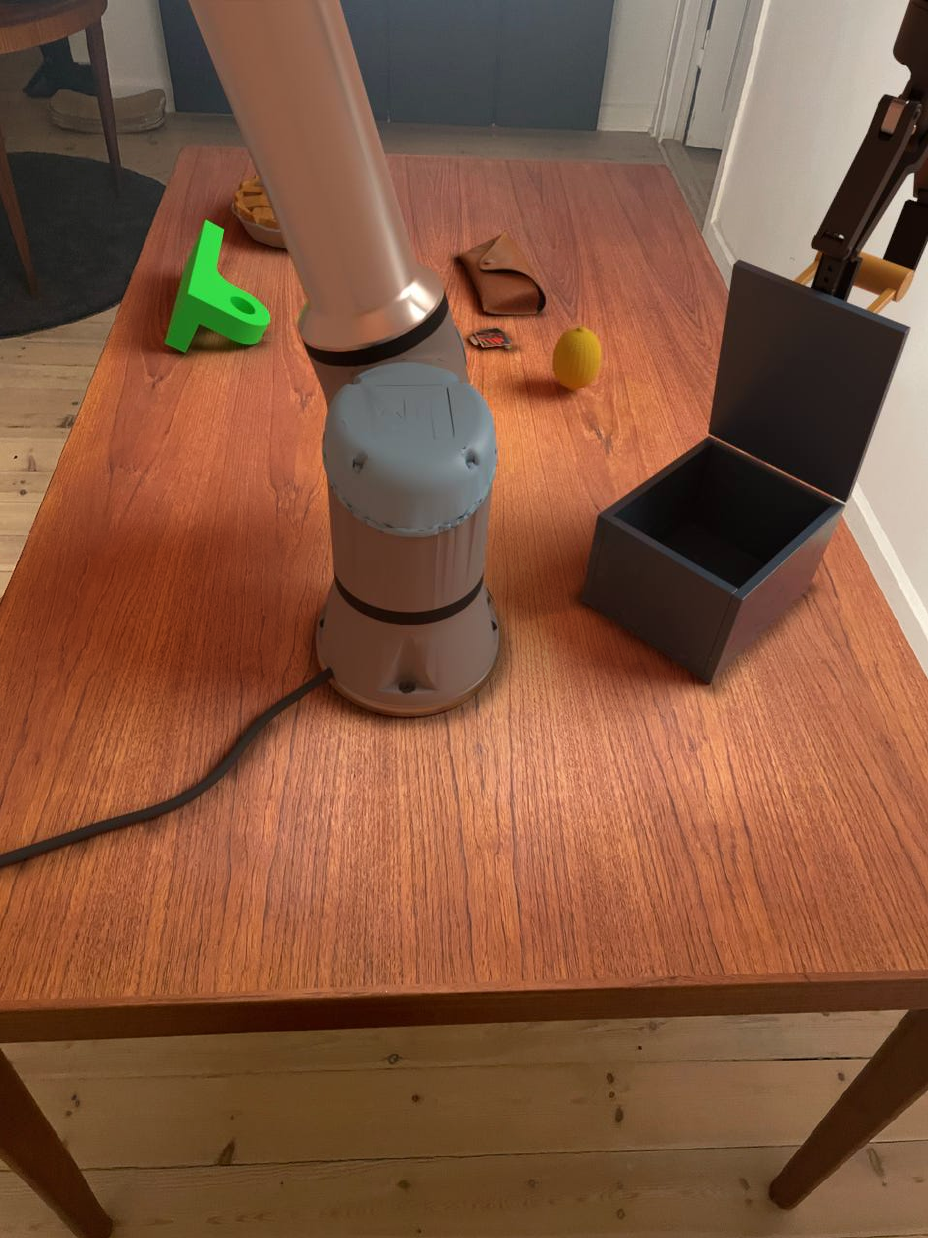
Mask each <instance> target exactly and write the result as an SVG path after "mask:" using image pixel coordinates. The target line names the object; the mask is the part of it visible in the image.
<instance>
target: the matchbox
mask: <svg viewBox="0 0 928 1238" xmlns="http://www.w3.org/2000/svg"><path fill="white" fill-rule="evenodd" d="M468 339H469V342H471V343H472V344H473V345H474V346H478V345H479V344H481V347H482V348H489V347H496V346H497V347H502V346H505V347H504V349H506V350H507V349H508V350H509V349H513V348H514V346H513V345H512V341H511V340H510V338H509V337H508V336H507V335H506V332H505V331H503V330H501V329H500V328H499V327H492V328H491V327H490V328H484V329H483V328H482V329H481V330H477V331H475V332H474V335H472V336H469V338H468ZM511 345H512V346H511Z"/></svg>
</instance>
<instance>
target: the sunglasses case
mask: <svg viewBox="0 0 928 1238" xmlns="http://www.w3.org/2000/svg"><path fill="white" fill-rule="evenodd" d="M456 257H457V259H458V260H459V261H460V263H461V264H462V265H463V266H464V268H465V270H466V272H467V274H468V275H469V277H470V280H471V281H472V284H473V286H474V287H475V288H474V289H475V290H476V292H477V295H478V298H479V300H480V304H481V307H482V308H481V309H482V310H483V312H484V313H487V314H490V315H498V316H509V317H510V316H511V317H512V316H533V315H534V316H536V315H538V314H539V313H541V312H542V311H543V310H544V309H545V308H546V307H547V296H546V293H545V291H544V289H543V288H542V286H541V283H540V282H539V280H538V277H537V276H536V274H535V272H534V270H533V269H532V267H531V265H530V263H529V262H528V261H527V259H526V257H525V256H524V254H523V252H522V250H521V249H520V248H519V246H518V244H517V243H516V242H515V240H514V239H513V237H512V236H511V234H510V232H509V231H508V229H503V232H502V233H501V234H499V235H496V236H495V237H493V238H492V239H489V240H487V241H485V242H483V243H481V244H478V245H477V246H475V247H472V248H471V249H469V250H467V251H465V252H462V253H461V254H459V253H458V255H456Z"/></svg>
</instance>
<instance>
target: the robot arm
mask: <svg viewBox="0 0 928 1238" xmlns="http://www.w3.org/2000/svg"><path fill="white" fill-rule="evenodd" d="M188 3H189V6H190V8H191V11H192V13H193V16H194V18H195V21H196V23H197V26H198V28H199V31H200V33H201V36H202V39H203V41H204V44H205V46H206V48H207V52H208V54H209V56H210V59H211V62H212V64H213V66H214V69H215V71H216V74H217V77H218V78H219V81H220V85H221V87H222V89H223V91H224V94H225V96H226V99H227V101H228V104H229V106H230V109H231V112H232V115H233V117H234V118H235V122H236V125H237V127H238V130H239V131H240V134H241V137H242V139H243V141H244V145H245V147H246V149H247V152H248V154H249V157H250V159H251V162H252V164H253V167H254V168H255V172H256V175H258V177H259V180H260V182H261V185H262V187H263V190H264V192H265V195H266V197H267V200H268V202H269V205H270V207H271V210H272V212H273V215H274V217H275V220H276V222H277V225H278V227H279V230H280V232H281V235H282V238H283V240H284V243H285V245H286V248H287V249H286V248H285V249H286V250H287V252H288V255H289V258H290V260H291V263H292V265H293V268H294V269H295V272H296V275H297V277H298V281H299V283H300V286H301V287H302V290H303V293H304V295H305V298H306V301H305V303H304V305H303V307H302V309H301V311H300V313H299V316H298V317H297V324H296V326H297V331H298V334H299V336H300V339H301V341H302V343H303V346H304V349H305V351H306V354H307V356H308V358H309V361H310V364H311V365H312V368H313V371H314V373H315V375H316V377H317V380H318V382H319V385H320V388H321V390H322V394H323V396H324V400H325V404H326V414H325V415H326V416H325V422H324V431H323V433H322V439H321V455H322V464H323V469H324V472H325V474H326V480H327V481H326V484H327V496H328V497H327V500H328V511H329V512H328V514H329V525H330V539H331V540H330V542H331V554H332V568H333V579H332V581H331V584H330V587H329V589H328V593H327V595H326V598H325V603H324V604H323V606H322V608H321V611H320V613H319V615H318V616H319V617H318V621H317V623H316V624H317V625H316V632H315V635H316V636H315V644H316V645H315V646H316V656H317V660H318V664H319V667H320V670H321V672H319V673H318V674H316V675H314V676H313V677H312V678H311V679H309V680H308V681H306V682H305V683H303V684H302V685H300V686H299V687H297V688H296V689H294V690H293V691H291V692H290V693H288V694H287V695H286V696H284V697H282V698H281V699H279V700H278V701H276V702H275V703H274V704H273V705H271V706H270V707H268V709H266V710H264V712H263V713H262V714H261V715H260V716H258V717H257V718H256V720H254V722H252V723H251V725H249V727H248V728H247V729H246V730H245V731H244V733H243V734H242V735H241V736H240V738H239V739H238V740H237V742H236V743H235V744H234V746H233V747H232V748H231V750H230V751H229V752H228V754H227V755H226V756H225V757H223V759H222V760H221V762H220V763H219V764H218V765H217V766H216V768H214V769H213V770H212V771H211V772H210V773H209V774H208V775H206V776H205V777H204V778H203V779H201V780H200V781H198V783H195V784H194V785H193V786H192V787H190V788H188V789H185V791H183V792H181V793H180V794H179V793H178V794H177V795H176V796H173V797H171V798H169V799H167V800H165V801H162V802H159V803H157V804H154V805H151V806H149V807H145V808H142V809H139V810H136V811H132V812H128V813H125V814H121V815H117V816H114V817H111V818H106V819H103V820H100V821H97V822H94V823H91V824H88V825H84V826H82V827H79V828H76V829H72V830H70V831H67V832H64V833H61V834H59V835H56V836H53V837H49V838H47V839H44V840H41V841H38V842H35V843H32V844H29V845H25V846H22V847H20V848H16V849H13V850H11V851H8V852H7V851H6V852H4V853H0V868H3V867H6V866H9V865H12V864H15V863H18V862H21V861H24V860H27V859H30V858H33V857H36V856H39V855H42V854H45V853H48V852H50V851H54V850H57V849H59V848H62V847H66V846H69V845H72V844H75V843H77V842H80V841H83V840H85V839H88V838H91V837H94V836H97V835H101V834H104V833H107V832H110V831H114V830H117V829H120V828H124V827H128V826H131V825H135V824H138V823H142V822H146V821H148V820H151V819H154V818H157V817H160V816H162V815H166V814H167V813H170V812H172V811H175V810H176V809H178V808H181V807H182V806H185V805H186V804H188V803H190V802H191V801H193V800H195V799H197V798H198V797H200V796H202V794H204V793H205V792H207V791H208V790H209V789H211V788H212V787H213V786H214V785H216V784H217V783H218V782H219V781H220V780H221V779H223V777H224V776H225V775H226V774H227V773H228V772H229V771H230V769H232V768H233V766H235V763H236V762H237V761H238V760H239V759H240V756H242V754H243V753H244V752H245V750H247V748H248V746H249V745H250V744H251V742H252V741H253V740H254V738H256V737H257V735H258V734H259V733H260V732H261V731H262V730H263V729H264V728H265V727H266V725H268V724H269V723H270V722H271V721H272V720H273V719H274V718H276V717H277V716H278V715H279V714H281V713H282V712H283V711H284V710H286V709H288V708H289V707H290V706H292V705H293V704H295V703H296V702H298V701H299V700H301V699H302V698H304V697H306V696H307V695H308V694H310V693H311V692H312V691H314V690H316V689H317V688H318V687H320V686H322V685H323V684H325V683H326V682H328V683H329V684H330V686H331V687H332V688H333V689H334V690H335V691H336V692H337V693H338V694H339V695H341V696H342V697H343V698H345V699H346V700H347V701H349V702H350V703H352V704H353V705H356V706H358V707H360V708H362V709H365V710H368V711H371V712H373V713H378V714H381V715H385V716H393V717H405V718H406V717H422V716H429V715H435V714H438V713H442V712H446V711H448V710H451V709H453V708H457V707H458V706H460V705H462V704H464V703H465V702H467V701H469V700H470V699H471V698H473V697H474V696H476V695H477V694H478V693H479V692H480V691H481V690H482V689H483V688H484V687H485V686H486V684H487V683H488V682H489V680H490V679H491V677H492V676H493V673H494V672H495V669H496V667H497V664H498V660H499V652H500V644H501V643H500V642H501V637H500V626H499V621H498V618H497V614H496V613H495V612H496V611H495V609H494V607H493V604H494V606H495V607H496V609H497V604H496V602H495V599H494V597H493V596H492V593H491V592H490V590H489V589H488V586H487V585H486V583H485V580H484V576H485V575H484V574H485V566H486V557H487V556H486V555H487V545H488V537H489V524H490V516H491V515H490V513H491V503H492V494H493V493H492V492H493V482H494V481H495V477H496V471H497V465H498V464H497V463H498V443H497V437H496V425H495V420H494V416H493V414H492V411H491V408H490V406H489V404H488V403H487V401H486V399H485V398H484V397H483V395H482V394H481V392H480V391H478V390H477V388H475V386H474V385H472V384H471V382H470V378H469V377H470V376H469V373H468V372H469V371H468V369H467V366H468V361H467V352H466V347H465V343H464V340H463V337H462V334H461V331H460V330H459V328H458V327H457V326H456V324H455V321H454V317H453V314H452V310H451V307H450V304H449V299H448V296H447V292H446V289H445V286H444V282H443V280H442V278H441V276H440V275H439V274H438V272H437V271H435V270H434V269H433V268H431V267H429V266H426V265H424V264H422V263H420V262H418V261H416V258H415V257H416V256H415V254H414V251H413V247H412V244H411V241H410V237H409V234H408V230H407V227H406V223H405V220H404V216H403V214H402V210H401V206H400V203H399V199H398V196H397V193H396V189H395V186H394V182H393V179H392V176H391V172H390V168H389V165H388V161H387V158H386V155H385V152H384V148H383V144H382V141H381V138H380V135H379V131H378V127H377V123H376V121H375V117H374V113H373V111H372V108H371V104H370V100H369V97H368V93H367V90H366V86H365V83H364V79H363V77H362V76H363V75H362V73H361V69H360V66H359V62H358V58H357V56H356V52H355V49H354V46H353V42H352V39H351V35H350V32H349V28H348V25H347V21H346V18H345V15H344V12H343V7H342V5H341V1H340V0H188ZM892 55H893V59H895V61H896V62H897V63H899V64H900V65H902V66H906V68H907V69H908V70H909V73H910V75H909V79H908V80H907V82H906V84H905V87H904V89H903V91H902V92H901V93H900V94H899V95H898V96H895V95H891V94H887V93H884V94H883V95H882V96H881V97H880V99H879V101H878V103H877V105H876V109H875V111H874V114H873V116H872V119H871V122H870V124H869V127H868V130H867V132H866V134H865V136H864V137H863V140H862V142H861V143H860V146H859V148H858V150H857V152H856V154H855V156H854V158H853V160H852V162H851V164H850V166H849V168H848V170H847V172H846V174H845V176H844V177H843V180H842V181H841V183H840V186H839V188H838V190H837V192H836V193H835V195H834V197H833V199H832V202H831V203H830V206H829V208H828V209H827V210H826V211H827V212H826V213H825V216H824V217H823V220H822V221H821V223H820V225H819V227H818V229H817V231H816V233H815V234H814V235H813V237H812V240H811V243H810V247H811V249H812V250H815V251H817V252H818V251H820V252H823V253H822V256H821V259H820V261H819V264H818V267H817V270H816V273H815V276H814V278H813V279H812V281H811V285H810V288H813V289H815V290H818V291H820V292H823V293H825V294H828V295H830V296H833V297H835V298H838V299H840V300H843V301H845V302H848V300H849V298H850V294H851V292H852V289H853V287H854V286H853V284H854V281H855V279H856V276H857V273H858V271H859V268H860V265H861V263H862V260H863V258H861V257H858V256H859V254H860V252H861V251H863V249H864V247H865V245H866V244H867V242H868V240H869V239H870V237H871V236H872V235H873V233H874V231H875V229H876V228H877V226H878V225H879V223H880V221H881V220H882V218H883V216H884V215H885V213H886V211H887V210H888V209H889V206H890V205H891V203H892V202H893V200H894V198H895V197H896V195H897V193H898V192H899V190H900V189H901V186H903V184H904V182H905V181H906V179H907V177H908V176H909V175H911V174H913V181H912V198H915V199H916V200H913V199H910V198H909V199H907V200H905V201H904V203H903V206H902V208H901V209H900V210H901V211H900V213H899V216H898V219H897V221H896V224H895V226H894V229H893V231H892V234H891V236H890V239H889V240H888V241H889V242H888V244H887V246H886V249H885V252H884V254H883V256H882V259H884V260H886V261H889V262H892V263H895V264H897V265H900V266H903V267H906V268H908V269H911V270H913V271H914V274H915V273H916V270H917V268H918V265H919V264H920V261H921V259H922V256H923V254H924V252H925V249H926V247H927V245H928V0H908V3H907V6H906V9H905V12H904V15H903V18H902V21H901V24H900V26H899V30H898V32H897V35H896V38H895V42H894V44H893V47H892ZM840 236H842V237H840ZM492 603H493V604H492Z"/></svg>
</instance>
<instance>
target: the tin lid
mask: <svg viewBox="0 0 928 1238" xmlns="http://www.w3.org/2000/svg"><path fill="white" fill-rule="evenodd" d="M822 253H823V252H820V251H817V253H816V255H815V257H814V260H813V262H812V263H811V264H810V265H809V266H808V267H807V268H805V270H803V271H802V272H801V273H800V274H799V275H798V276H796V278H795V279H789V278H787V277H785V276H782V275H780V274H777V273H775V272H773V271H770V270H767V269H764V268H763V267H760V266H757V265H754V264H752V263H750V262H747V261H745V260H742V259H738V260H736V261H735V262H734V263H733V264H732V269H731V278H730V283H729V289H728V297H727V304H726V310H725V311H726V312H725V317H724V324H723V331H722V336H721V337H722V338H721V343H720V350H719V356H718V357H719V358H718V364H717V370H716V377H715V383H714V390H713V397H712V404H711V410H710V418H709V425H708V431H707V434H708V435H709V436H711V437H713V438H715V439H717V440H719V441H721V442H723V443H725V444H727V445H729V446H731V447H733V448H735V449H737V450H739V451H741V452H743V453H745V454H747V455H748V456H750V457H752V458H754V459H756V460H758V461H760V462H762V463H764V464H766V465H768V466H769V465H770V467H772V468H774V469H776V470H778V471H780V472H782V473H784V474H786V475H788V476H790V477H792V478H794V479H796V480H798V481H800V482H802V483H804V484H806V485H808V486H810V487H812V488H814V489H816V490H818V491H820V492H822V493H824V494H826V495H828V496H830V497H831V498H833V499H835V500H837V501H838V500H839V502H841V503H843V504H846V503H847V502H848V501H849V500H850V499H851V497H852V494H853V492H854V490H855V486H856V483H857V480H858V478H859V475H860V472H861V470H862V467H863V464H864V460H865V458H866V455H867V452H868V450H869V446H870V444H871V441H872V439H873V436H874V433H875V430H876V428H877V424H878V421H879V419H880V416H881V414H882V411H883V407H884V404H885V401H886V400H887V396H888V393H889V390H890V388H891V385H892V382H893V379H894V377H895V374H896V371H897V368H898V365H899V362H900V359H901V356H902V354H903V352H904V348H905V345H906V342H907V340H908V337H909V334H910V331H911V329H912V328H911V326H910V325H906V324H904V323H901V322H898V321H896V320H893V319H890V318H889V317H885V316H883V315H881V314H879V313H881V312H882V311H883V310H884V309H885V308H886V307H887V305H889V303H891V302H895V303H899V302H900V301H901V300H902V299H903V298H904V297H905V295H906V294H907V292H908V290H909V289H910V288H911V285H912V283H913V280H914V277H915V273H914V271H913V270H911V269H908V268H906V267H903V266H900V265H897V264H895V263H892V262H889V261H886V260H884V259H883V258H881V257H878V256H876V255H873V254H870V253H868V252H864V251H863V250H861V252H860V254H859V256H858V257H861V258H863V260H862V263H861V265H860V268H859V271H858V273H857V276H856V279H855V281H854V284H853V287H855V288H858V289H860V290H863V291H866V292H869V293H871V294H873V295H877V296H878V297H876V299H875V300H874V301H873V302H872V303H871V304H870V305H868V307H867V308H863V307H860V306H858V305H855V304H853V303H850V302H848V301H847V302H845V301H843V300H840V299H838V298H835V297H833V296H830V295H828V294H825V293H823V292H820V291H818V290H815V289H813V288H811V286H810V287H809V286H807V285H808V284H809V283H810V282H812V281H813V279H814V276H815V273H816V270H817V267H818V264H819V261H820V259H821V256H822Z"/></svg>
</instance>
